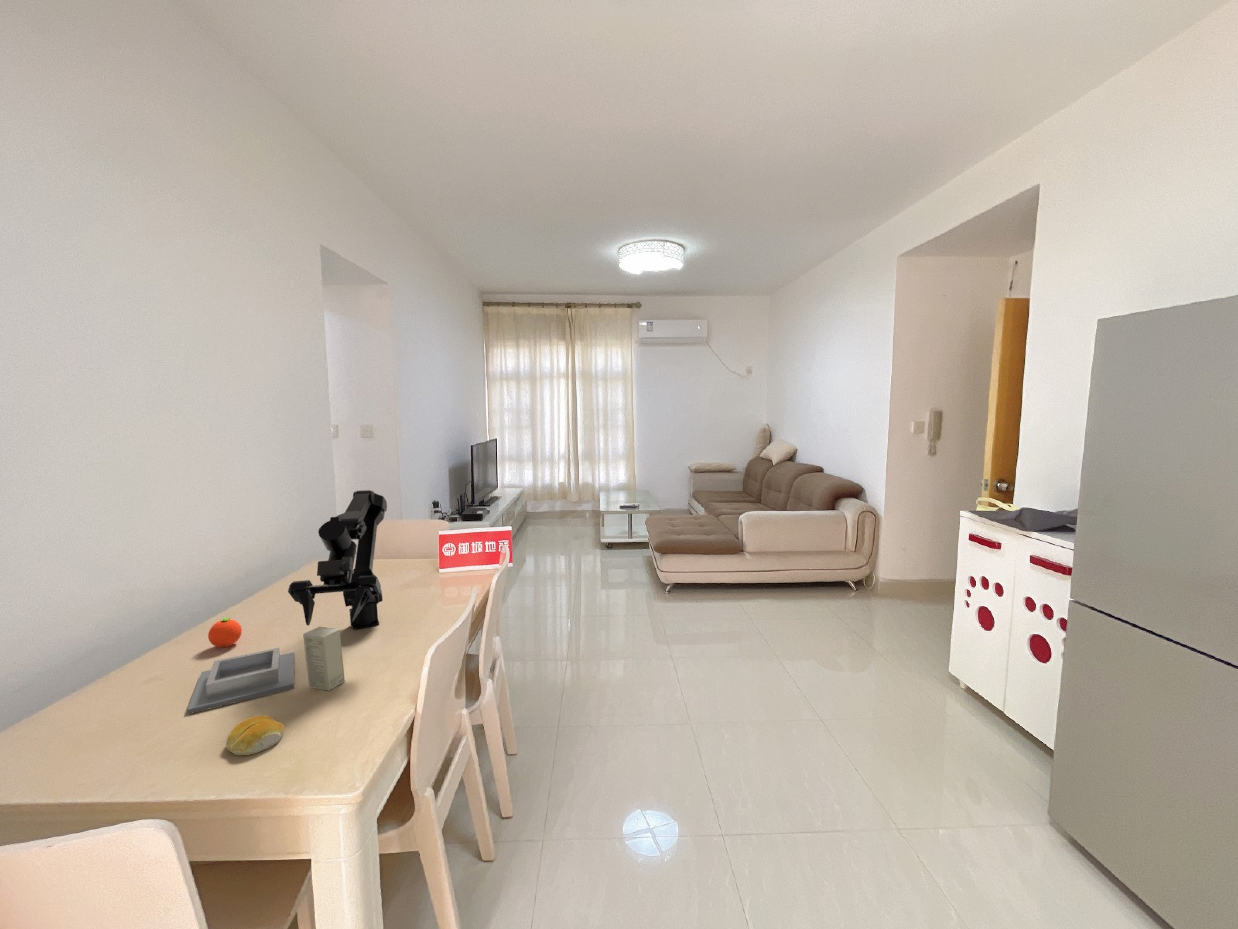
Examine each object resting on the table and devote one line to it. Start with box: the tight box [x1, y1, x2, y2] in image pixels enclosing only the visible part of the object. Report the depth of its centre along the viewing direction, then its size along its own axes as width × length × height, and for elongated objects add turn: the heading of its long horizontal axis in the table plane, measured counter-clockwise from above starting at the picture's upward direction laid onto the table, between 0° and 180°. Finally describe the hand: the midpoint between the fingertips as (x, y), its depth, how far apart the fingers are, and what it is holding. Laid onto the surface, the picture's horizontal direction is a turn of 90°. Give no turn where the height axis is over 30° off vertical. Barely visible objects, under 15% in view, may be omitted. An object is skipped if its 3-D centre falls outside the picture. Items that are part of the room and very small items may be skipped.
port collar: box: [206, 647, 281, 699], centre depth 116 cm, size 12×12×3 cm
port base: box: [187, 651, 296, 715], centre depth 116 cm, size 18×18×1 cm
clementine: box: [207, 617, 243, 648], centre depth 135 cm, size 8×7×7 cm
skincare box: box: [302, 626, 346, 692], centre depth 114 cm, size 6×4×12 cm
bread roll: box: [225, 714, 285, 756], centre depth 95 cm, size 8×9×4 cm
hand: (329, 622), depth 118 cm, fingers open, 9 cm apart
